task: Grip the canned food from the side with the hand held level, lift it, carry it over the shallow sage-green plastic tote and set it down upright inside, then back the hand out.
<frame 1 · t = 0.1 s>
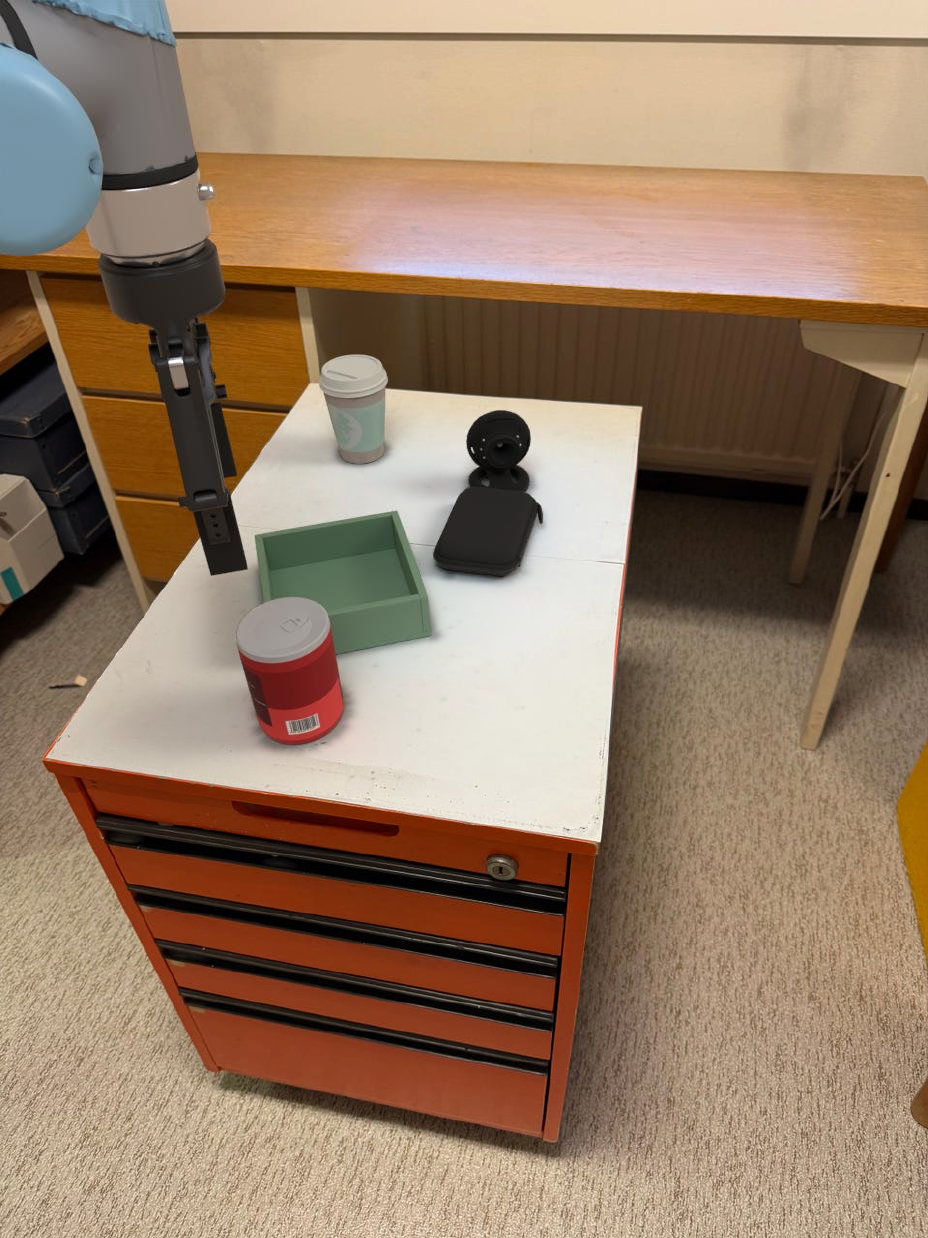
hand: (224, 520, 70), 20 cm above the cabinet, tool pointing down, fingers open, 13 cm apart
tote: (343, 602, 93), on the cabinet
carrying case: (491, 542, 101), on the cabinet
canned food: (302, 716, 81), on the cabinet
webcam: (499, 486, 109), on the cabinet
coffee cup: (362, 454, 116), on the cabinet
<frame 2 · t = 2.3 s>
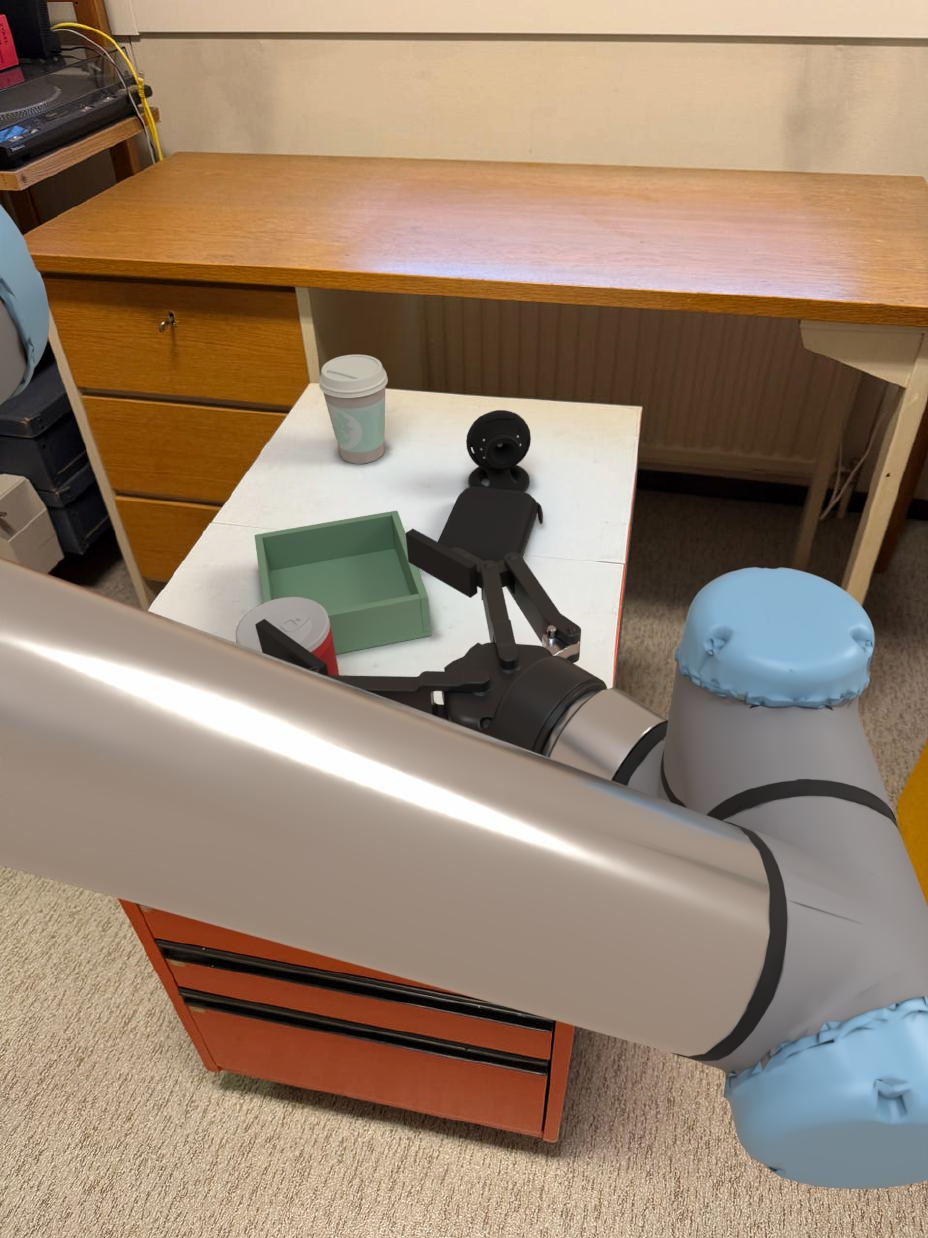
hand: (340, 588, 63), 20 cm above the cabinet, tool horizontal, fingers open, 13 cm apart
nothing on the cabinet moved.
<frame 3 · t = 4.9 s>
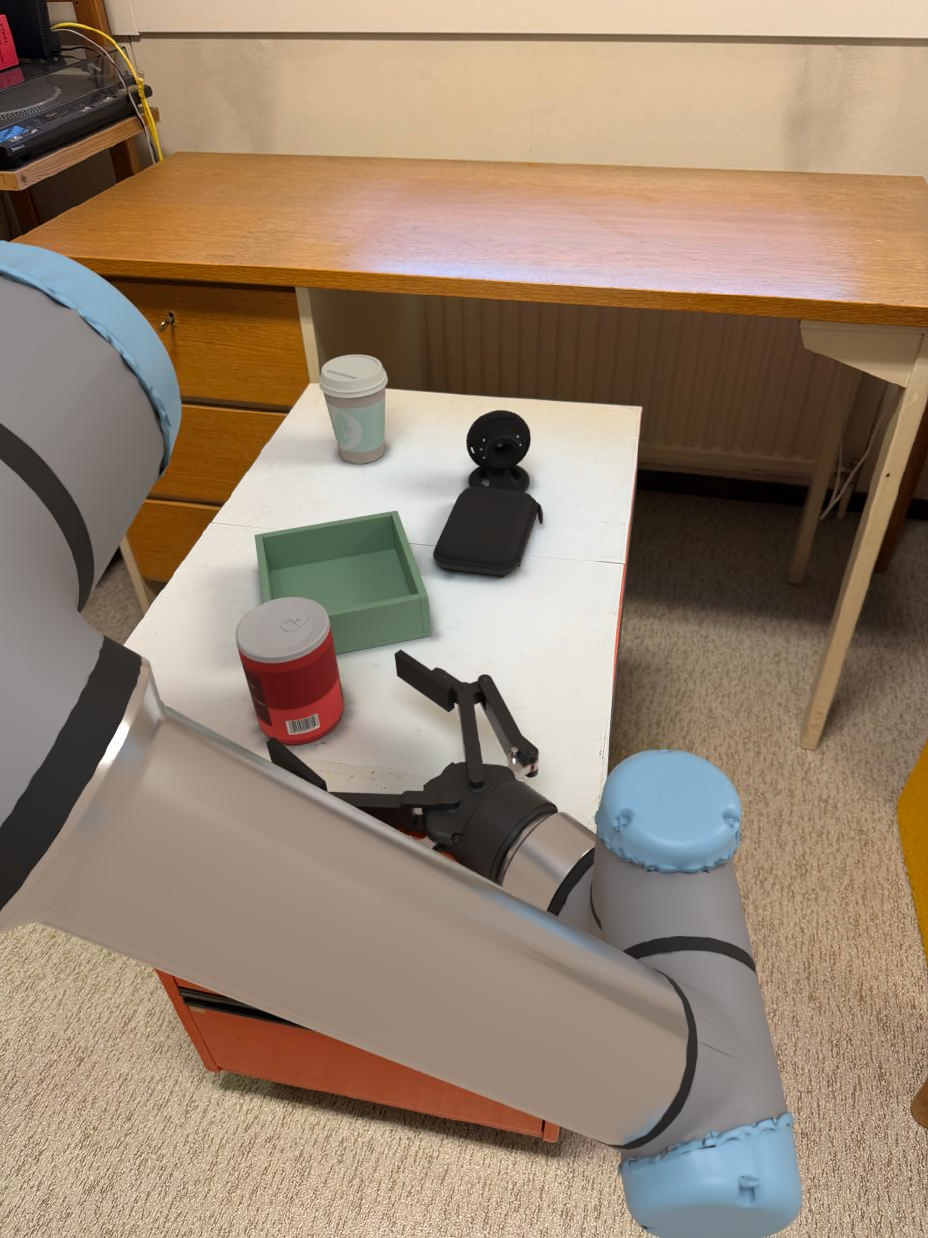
hand: (338, 704, 74), 6 cm above the cabinet, tool horizontal, fingers open, 13 cm apart
nothing on the cabinet moved.
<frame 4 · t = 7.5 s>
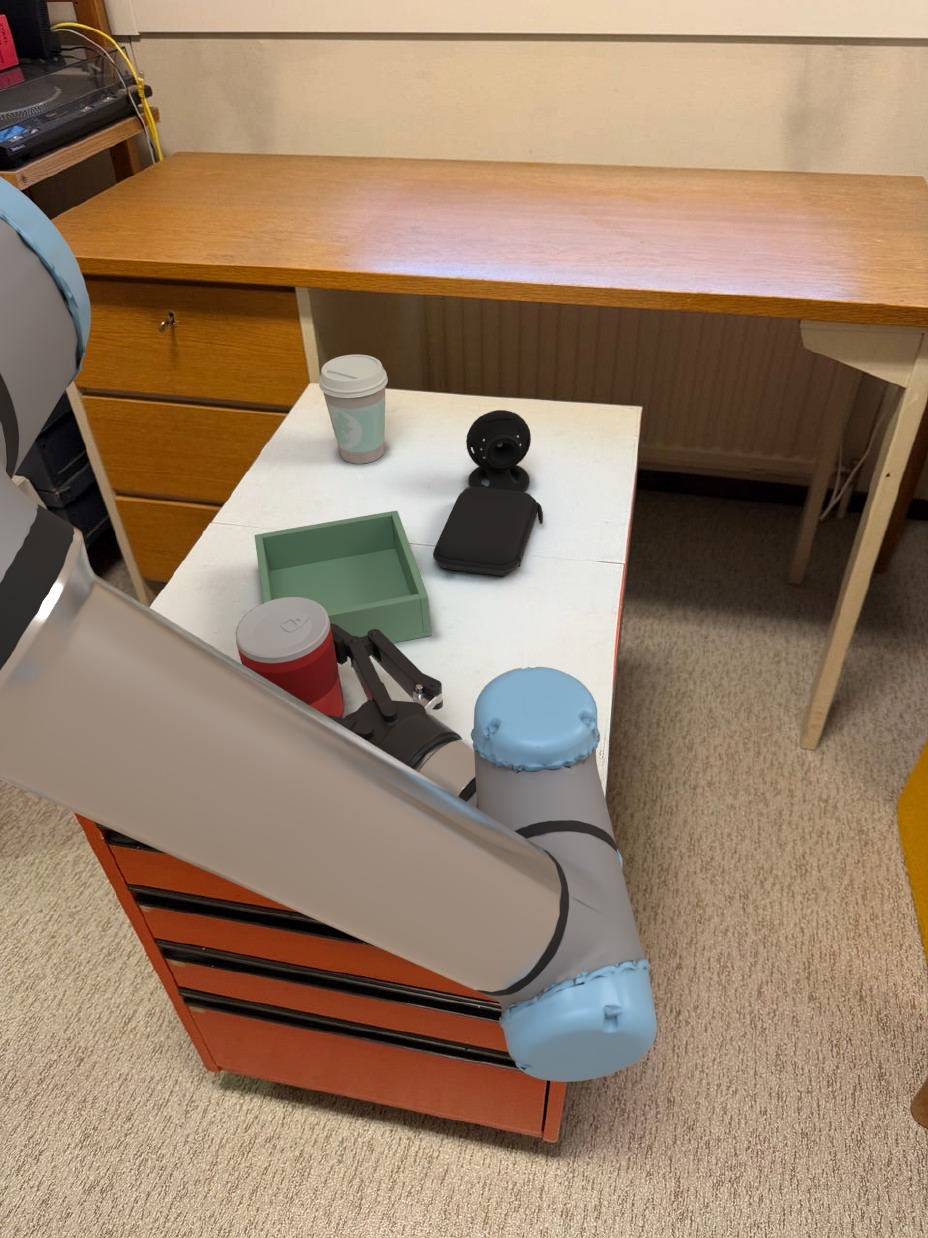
hand: (259, 643, 80), 6 cm above the cabinet, tool horizontal, fingers closed on canned food, 8 cm apart
canned food: (302, 716, 81), on the cabinet, touching gripper
everything else where it was.
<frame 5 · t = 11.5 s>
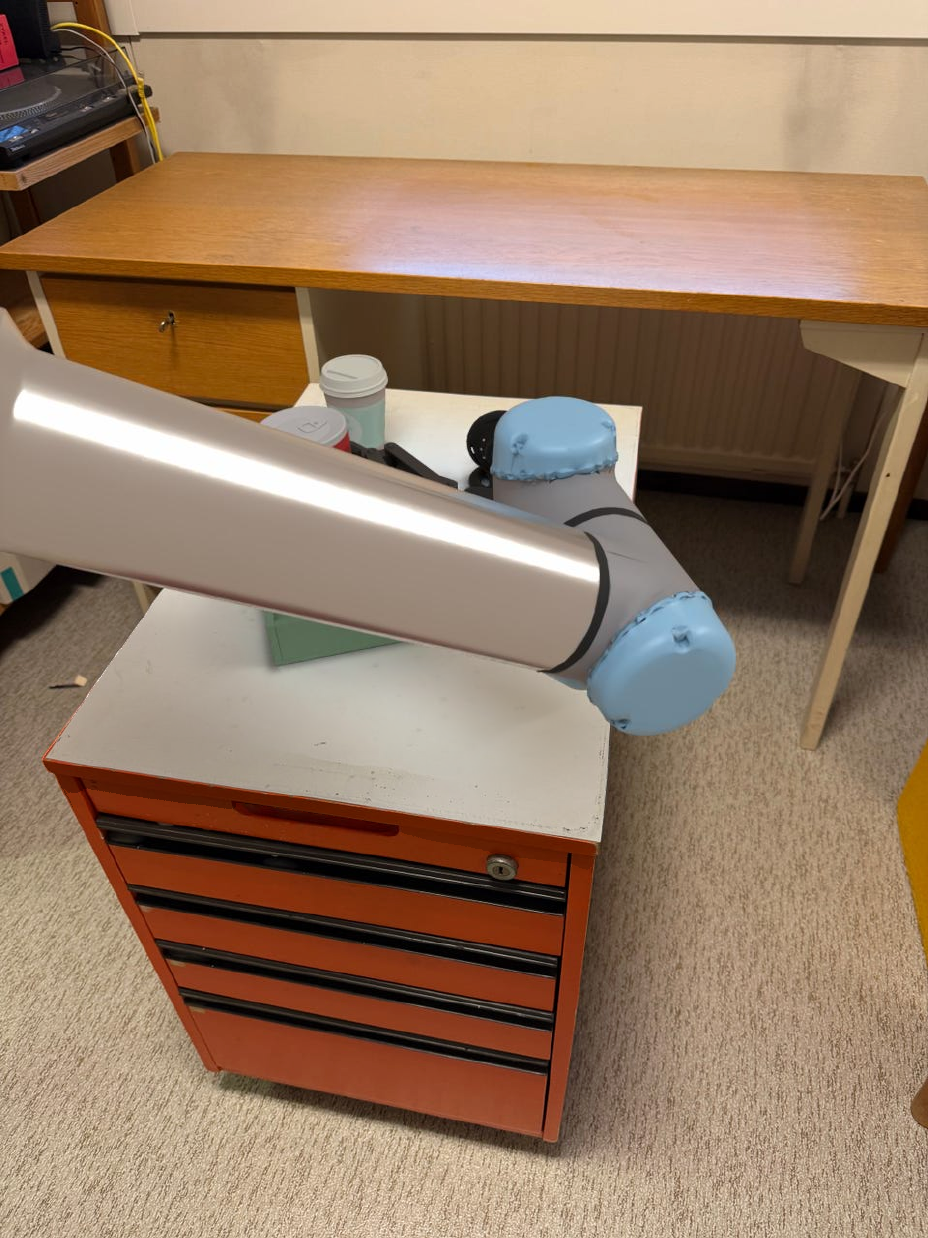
hand: (277, 458, 80), 18 cm above the cabinet, tool horizontal, fingers closed on canned food, 8 cm apart
canned food: (319, 534, 82), point 12 cm above the cabinet, touching gripper
everything else where it was.
when the fingers open (7 cm above the cabinet, at t = 15.8 s): canned food stays where it is, resting on tote.
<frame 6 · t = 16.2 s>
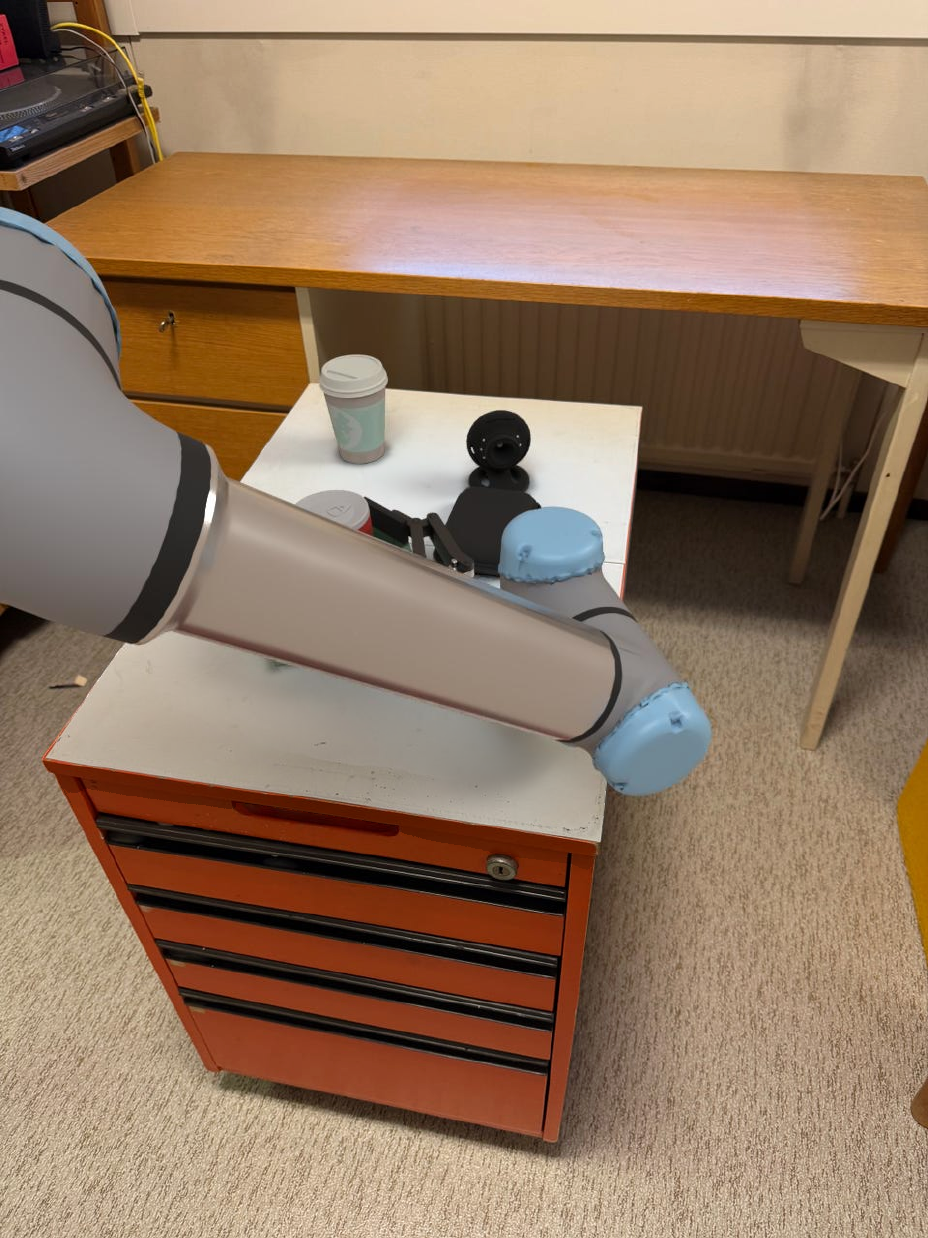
hand: (314, 535, 90), 7 cm above the cabinet, tool horizontal, fingers open, 13 cm apart
canned food: (343, 599, 93), resting on tote
everything else where it was.
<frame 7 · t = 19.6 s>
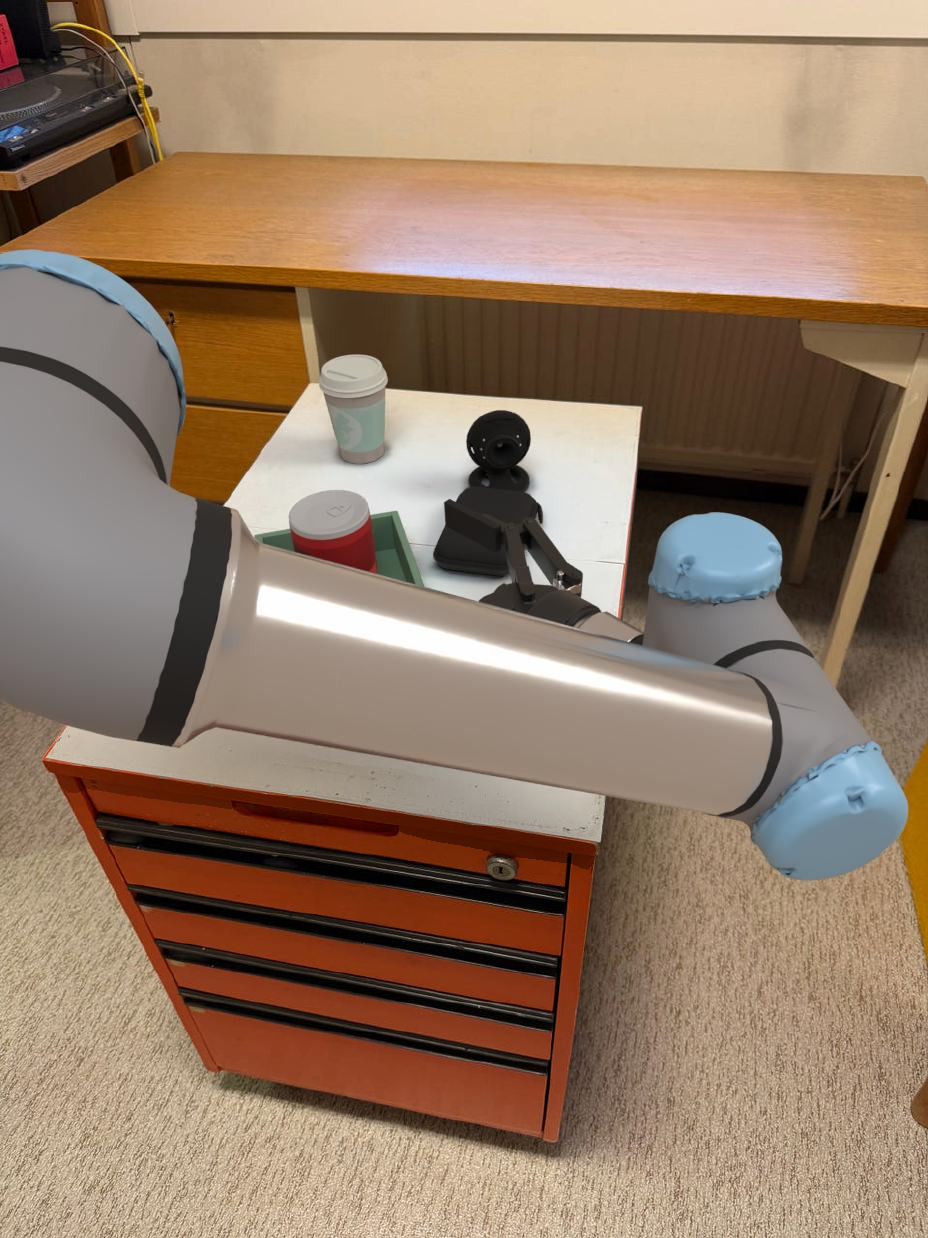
hand: (394, 543, 80), 12 cm above the cabinet, tool horizontal, fingers open, 13 cm apart
nothing on the cabinet moved.
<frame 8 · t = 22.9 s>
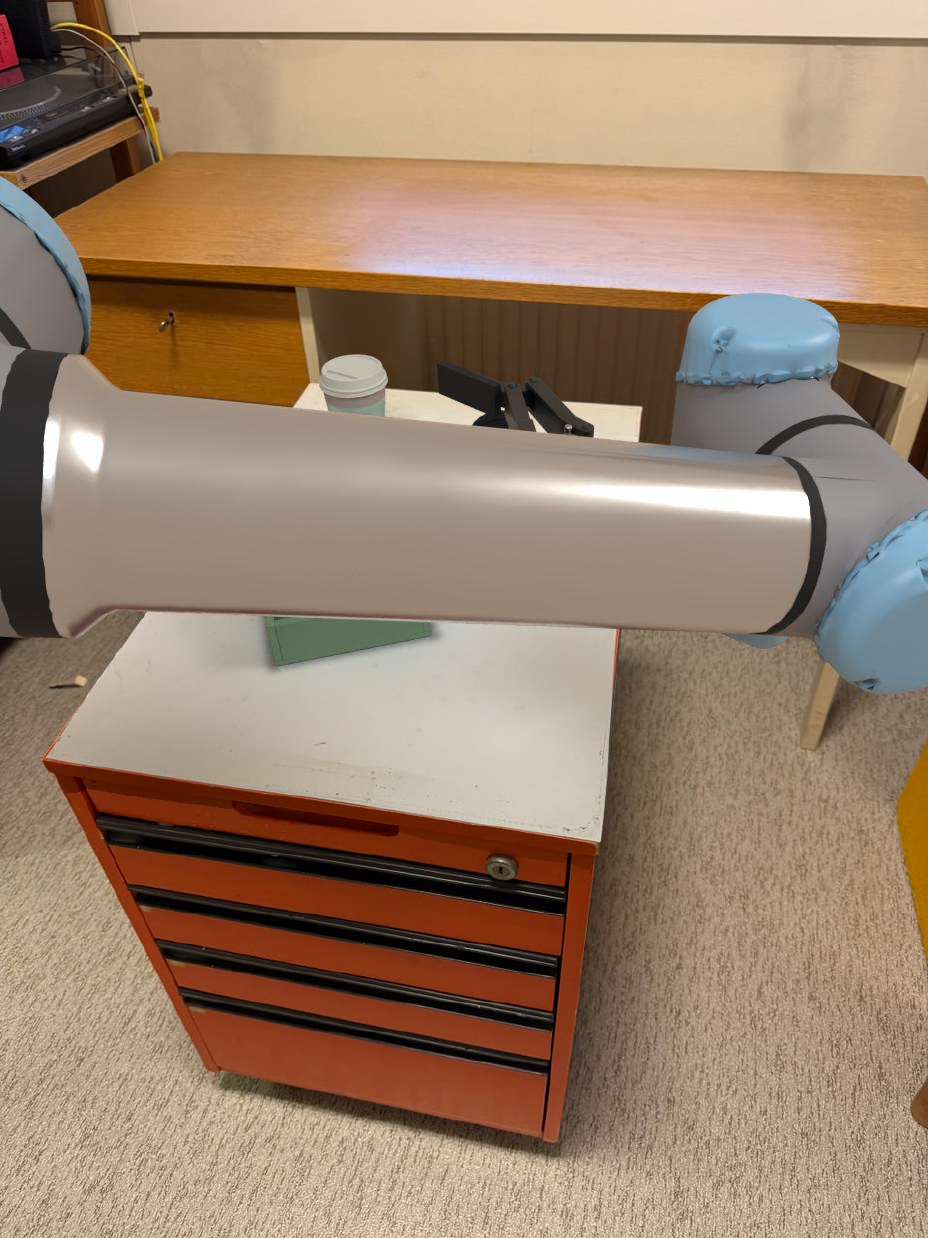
hand: (380, 406, 71), 26 cm above the cabinet, tool horizontal, fingers open, 13 cm apart
nothing on the cabinet moved.
at the end: canned food inside the target area in the tote (0.0 cm from its centre), point 0.4 cm above the tote's base; canned food tilted 0°; the gripper is holding nothing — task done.
